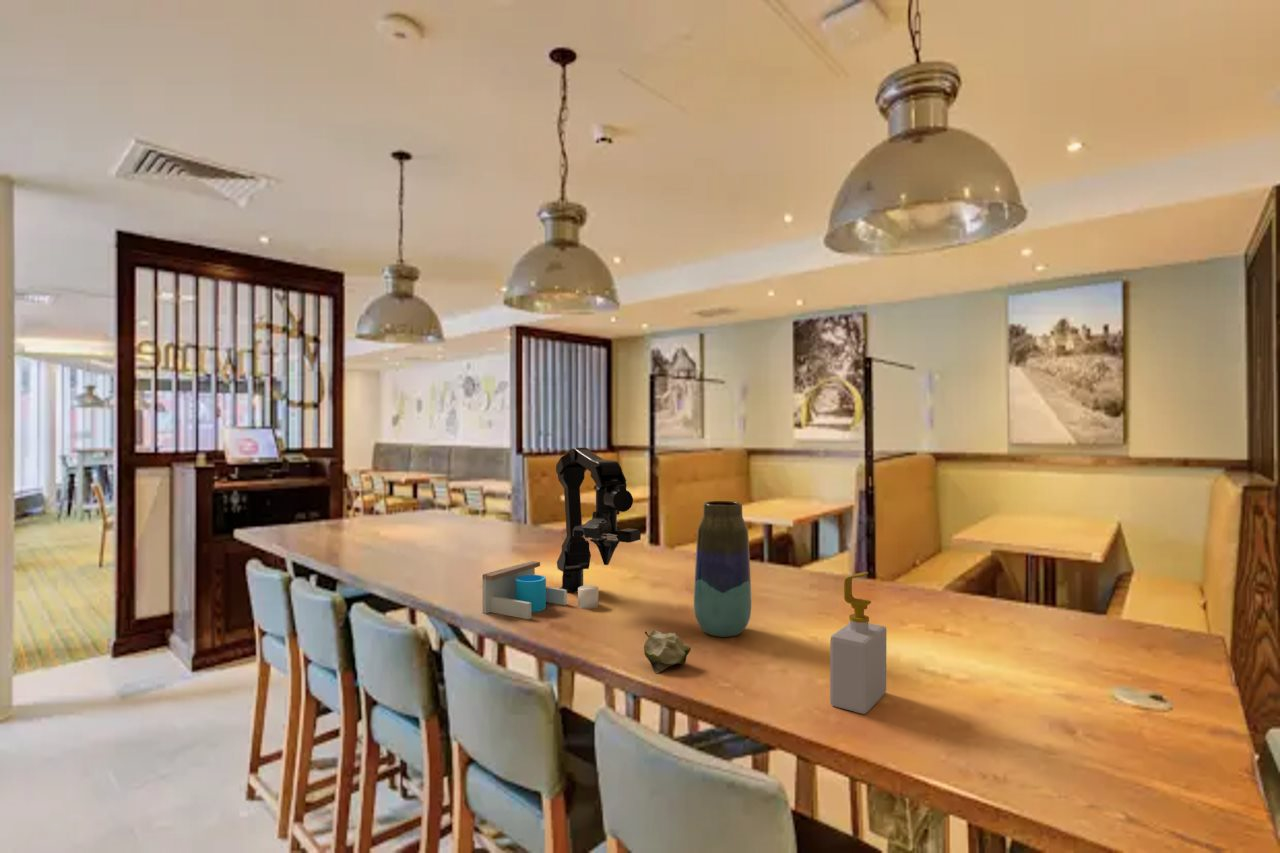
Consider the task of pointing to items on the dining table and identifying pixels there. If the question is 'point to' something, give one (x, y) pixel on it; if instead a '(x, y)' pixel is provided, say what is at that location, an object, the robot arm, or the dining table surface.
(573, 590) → the robot arm
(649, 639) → the fruit
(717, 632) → the vase
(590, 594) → the cream rounded cylinder
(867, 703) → the soap bottle
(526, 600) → the mug
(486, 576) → the counter bay
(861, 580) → the dining table surface
